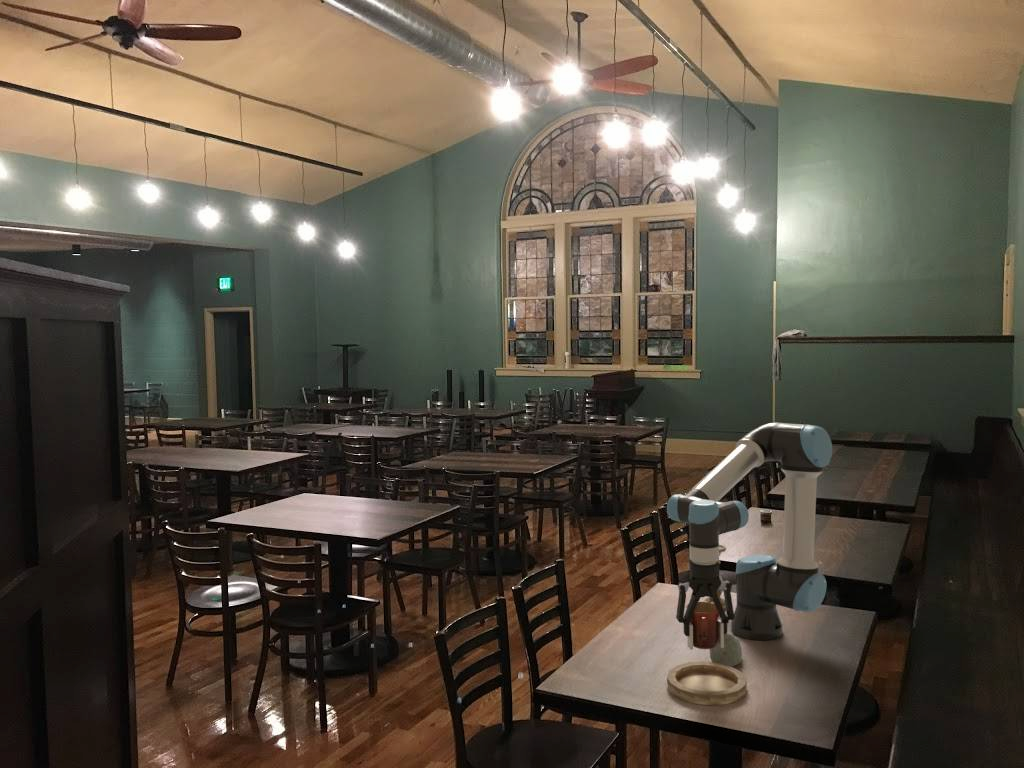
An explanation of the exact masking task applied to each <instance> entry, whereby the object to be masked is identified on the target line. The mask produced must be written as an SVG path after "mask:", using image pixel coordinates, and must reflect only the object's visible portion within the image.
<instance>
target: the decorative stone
mask: <svg viewBox="0 0 1024 768" xmlns="http://www.w3.org/2000/svg"><path fill="white" fill-rule="evenodd" d="M708 650H709V658H710V660H711V662H713V663H720V664H723V665H727V666H731V667H733V668H734V667H735V666H738V665H739V664H741V662H742V659H743V651H742V650H743V649H742V645H741V642H740V640H739V639H738V638H737V637H735V636H734V635H733V634H731V633H728V632H727V634H724V648H721V647H720V646H719V645H718V642H717V645H716V646H715V647H714V648H712V649H708Z"/></svg>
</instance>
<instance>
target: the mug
mask: <svg viewBox="0 0 1024 768" xmlns="http://www.w3.org/2000/svg"><path fill="white" fill-rule="evenodd" d="M685 607H686V609H687V607H688V604H687V605H685ZM719 617H720V616H719V610H718V611H717V609H716V606H715V604H714V603H710V602H703V601H698V603H697V606H696V608H695V611H694V614H693V616H692V619H691V621H690V622H691V623H692V625H693V648H697V649H699V650H709V649H712V648H714V647H715V646H716V645H717V642H718V620H719Z"/></svg>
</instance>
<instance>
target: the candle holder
mask: <svg viewBox="0 0 1024 768" xmlns="http://www.w3.org/2000/svg"><path fill="white" fill-rule="evenodd" d="M726 550H727V548H726V546H725V545H722V544H719V557H720V556H721V555H722V554H721V553H724V552H726ZM718 562H719V565H720V564H721V560H719V561H718ZM719 578H720V580H721V581H724V580H723V578H722V576H721V574H720V572H719ZM722 590H723V589H722V586H720V587H719V588H718V590H717V591H716V593H717V595H718V598H719V601H720V603H721V605H722V608H723V610H724V611H725V610H726V605H725V598H722V597H721V595H722V594H723V591H722ZM702 602H710V603H714V602H713V599H712V597H707V598H706V597H705V599H704V600H703V601H702Z"/></svg>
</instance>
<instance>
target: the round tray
mask: <svg viewBox="0 0 1024 768" xmlns="http://www.w3.org/2000/svg"><path fill="white" fill-rule="evenodd" d="M747 684H748V683H747V677H746V676H745V675H744V673H743V672H742V671H740V670H739V669H737V668H735V667H734V666H733V667H731V666H727V665H723V664H720V663H713V662H712V661H693V662H692V661H691V662H686V663H681V664H678V665H675V666H673V667H672V668H671V669H669V670H668V673H667V675H666V685H667V689H668V691H669V692H670V693H671V694H672V695H673V696H674V697H676V698H677V699H679V700H681V701H683V702H687V703H691V704H696V705H698V706H699V705H700V706H701V705H702V706H710V707H711V706H726V705H729V704H734V703H736V702H739V701H740V700H742V699H743V698H744V697H745V695H746V693H747Z"/></svg>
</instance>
